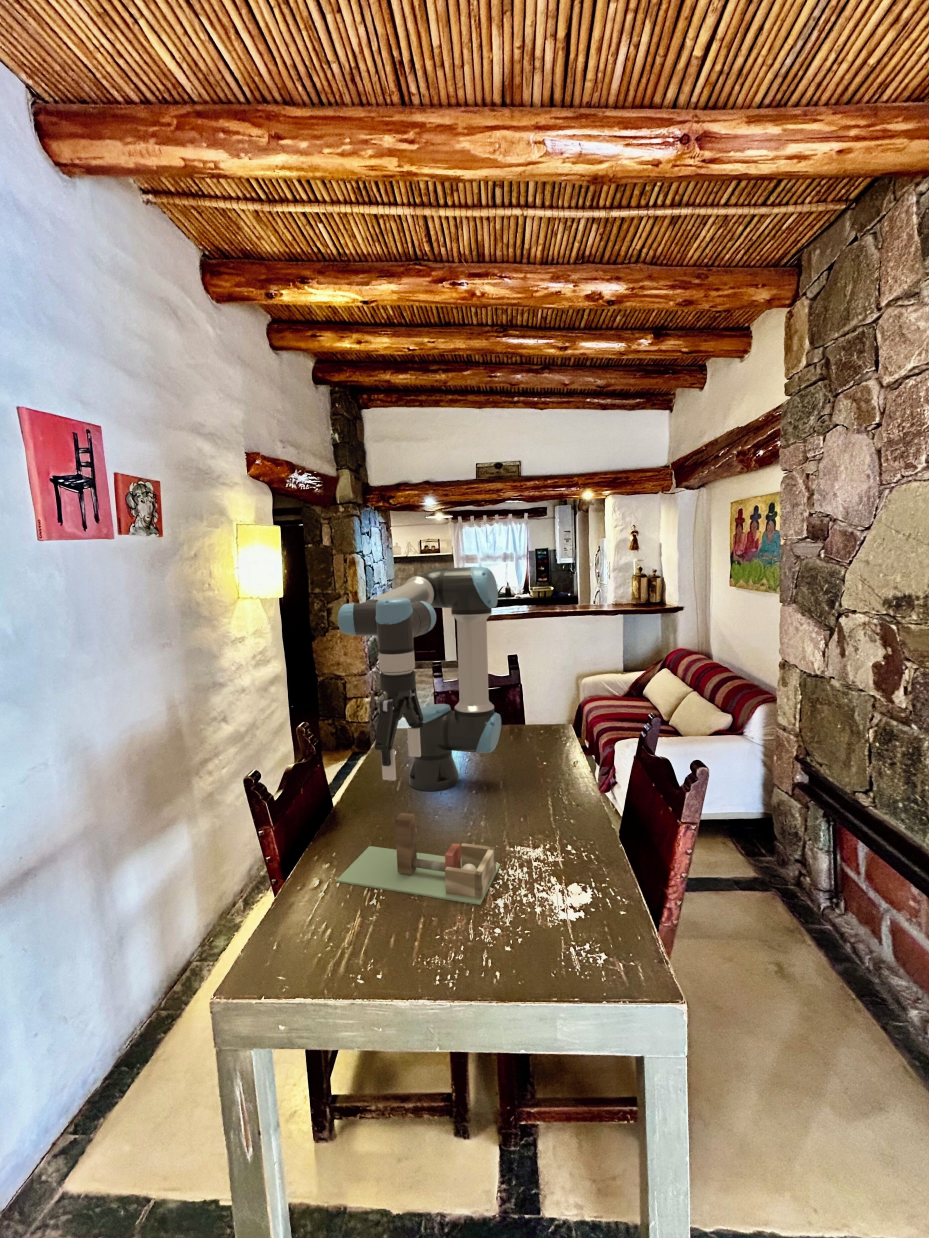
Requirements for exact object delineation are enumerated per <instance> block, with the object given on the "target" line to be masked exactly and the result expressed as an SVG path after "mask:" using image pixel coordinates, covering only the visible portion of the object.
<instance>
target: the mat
mask: <svg viewBox="0 0 929 1238" xmlns="http://www.w3.org/2000/svg"><path fill="white" fill-rule="evenodd" d="M417 859H423V860H430V861H437V862H444V863H445V855H438V854H437V855H436V854H430V853H424V852H423V853H422V852H417ZM500 867H501V864H500V863H497V862H496V870H495V872H494V874H493V876H492V878H491V880H490V882H489V884H488V886H487V888H486V890H485V892H484V894H483V896H482V898H481V899H479V898H472V897H466V896H460V895H453V894H447V893H446V885H445V872H442V871H435V870H428V869H422V868H416V869H415V871H414V872H413V873H412V874H404V873H398V868H397V849H394V848H387V847H379V846H372V845H371V846H370V845H369V846H368V847H367V848H366V849H365V850H364V851H363V852H362V853H361V854H360V855H359V856H357V858H356V859H355V861H353V862H352V863H351V864H350V866H348V868H347V869H346V870H345V871H344V872H343V873H342V874H341V875H340V876H339V877H337V879H336V883H342V884H347V885H353V886H354V885H355V886H361V887H367V888H373V889H379V890H386V891H391V892H397V893H398V892H399V893H405V894H410V895H416V896H423V897H429V898H435V899H440V900H447V901H453V902H460V903H465V904H472V905H477V906H478V905H479V906H481V905H482V903H483V902H484V901H483V900H484V899H485V898H486V895H487V894H488V890H489V888H490V887H491V884H492V883H493V881H494V879H495V877H496V874H497V873H498V871H499V869H500ZM461 869H462V864H461Z"/></svg>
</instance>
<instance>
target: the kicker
mask: <svg viewBox="0 0 929 1238" xmlns="http://www.w3.org/2000/svg"><path fill="white" fill-rule="evenodd" d="M394 826H395V827H394V828H395V844H396V849H395V850H397V868H398V873H404V874H412V873H413V872H414V871H415V869H416V868H422V869H428V870H435V871H442V872H445V869H446V867H452V868H459V869H461V844H460V843H452V844H451V846H450V847H449V848H448V850H447V851H446V853H445V854H444V856H445V863H444V862H437V861H430V860H423V859H417V853H418V852H417V835H416V833H417V832H416V814H414V813H408V812H407V813H405V812H400V814H398V815H397V817H395V819H394Z"/></svg>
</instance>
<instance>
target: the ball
mask: <svg viewBox="0 0 929 1238" xmlns="http://www.w3.org/2000/svg"><path fill="white" fill-rule="evenodd" d="M462 869H466V870H473V871H476V870H477V869H476V867H475V866H474V865H473V864H465V865H464V866H463V867H462Z"/></svg>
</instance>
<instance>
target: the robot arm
mask: <svg viewBox="0 0 929 1238" xmlns="http://www.w3.org/2000/svg"><path fill="white" fill-rule="evenodd" d="M498 598H499V590H498V585H497V581H496V577H495V575H494V573H493V571H492V570H491V569H489V568H488V567H483V566H482V567H481V566H468V567H467V566H465V567H462V566H461V567H440V568H434V569H431V570H427V571H425V572H422V573H419V574H417V575H414V576H412V577H410V578H408V579H407V580H406V581H405V582H404V583H403V585H400V586H398V587H395V588H394V589H393V588H392V589H391V590H389V591H387V592H385V593H382V594H380V595H378V596H376V597H373V598H371V599H369V600H366V601H363V602H360V603H356V602H352V603H345V604H343V605H342V606H340V608H339V611H338V614H337V621H338V624H337V626H338V628H339V630H340V632H341V633H342V634H344V635H346V636H356V637H358V636H360V637H361V636H363V637H364V636H365V637H366V636H367V637H368V636H370V637H371V636H375V637H376V636H377V647H378V648H377V649H378V655H377V660H378V664H379V671H380V672H381V673H379V685H380V690H381V691H382V692H385V693H386V694H387V696H386V700H380V701H379V713H378V714H379V715H378V721H377V728H376V729H377V730H376V737H375V743H374V749H375V751H380V755H381V756H380V757H381V758H380V760H381V774H382V780H384V781H393V782H394V781H396V780H397V771H396V751H395V750H396V749H395V748H393V746H394V743H395V742H394V741H395V737H396V734H397V729H398V726H399V725H398V724H399V721H401V720H402V717H404V719H405V721H406V723H407V725H408V728H406V730H407V746H408V747H407V748H408V749H407V750H408V757H413V760H412V763H411V766H410V770H409V775H408V783H409V784H408V785H409V786H410V787H411V788H414V789H416V790H417V791H418V790H419V791H423V792H425V791H426V792H434V791H437V792H438V791H442V790H443V791H444V790H447V789H451V788H453V787H454V786H456V785H457V784H458V783H459V779H460V778H459V770H458V768H457V764H456V762H455V760H454V757H453V752H464V753H475V754H490V753H492V752H494V750H495V748H496V747H497V745H498V743H499V739H500V735H501V729H502V717H501V714H499V713H497V712H495V705H494V704H493V703H492V702H491V701H490V699H489V698H490V697H489V663H488V657H489V656H488V629H487V628H488V626H487V625H488V624H487V622H488V621H487V620H488V619H489V617H490V616H491V615H492V614H493V613H492V611H493V610H492V609H494V608H496V607H497V605H498ZM434 608H441V609H442V608H444V609H451V611H450V613H451V616H452V617H453V618H454V619H455V620H456V632H457V634H456V635H457V637H456V638H457V662H458V668H457V669H458V670H457V671H458V693H459V696H458V697H459V698H458V699H459V700H458V703H457V704H455V706H454V710H452V708H451V705H450V704H448V703H447V704H446V703H436V704H430V705H425V706H422V707H421V704H420V701H419V698H418V693H417V687H416V686H417V682H416V681H417V680H416V672H415V671H414V670H415V668H416V661H415V659H416V658H415V647H414V643H415V642H414V638H416V637H418V636H424V635H425V634H427V633H428V632H430V631H432V630H433V628H434V627H435V624H436V622H437V613H436V611H435V609H434Z"/></svg>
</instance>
